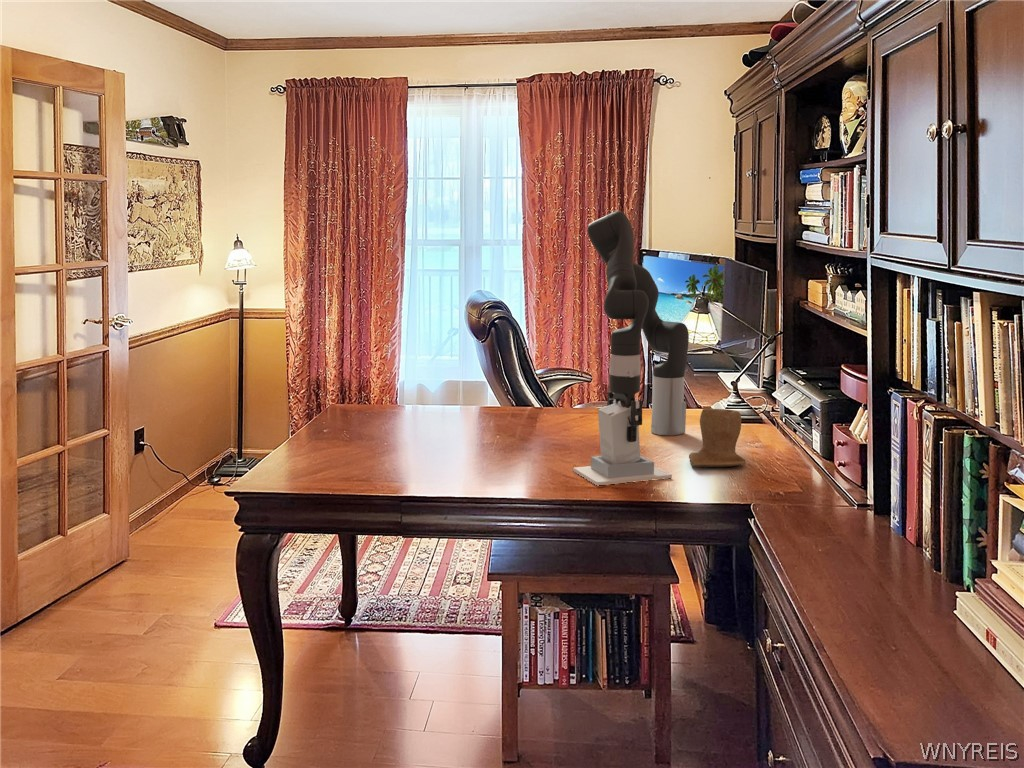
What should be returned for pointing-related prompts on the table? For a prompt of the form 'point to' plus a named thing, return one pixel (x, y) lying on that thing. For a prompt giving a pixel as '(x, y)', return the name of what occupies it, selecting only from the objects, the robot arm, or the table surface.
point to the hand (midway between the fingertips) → (623, 437)
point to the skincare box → (617, 435)
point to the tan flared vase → (718, 439)
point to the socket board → (620, 471)
